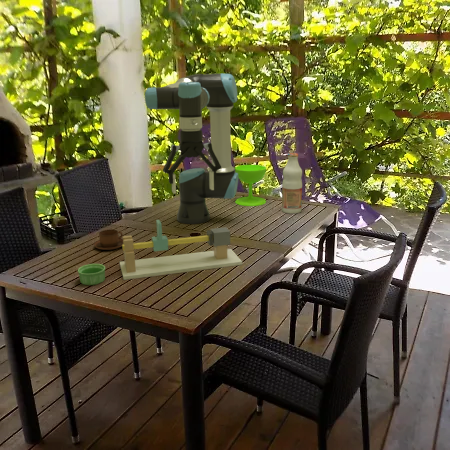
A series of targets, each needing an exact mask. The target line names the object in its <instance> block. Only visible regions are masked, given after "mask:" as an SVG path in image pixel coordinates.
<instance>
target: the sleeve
mask: <svg viewBox="0 0 450 450" xmlns="http://www.w3.org/2000/svg"><path fill="white" fill-rule="evenodd" d="M155 221H156V236H151V241H153V245H154V247H151V248H152V249H153V252H160V251H169V245H168V240H169V239H168V237H167V235H163V229H162V228H163V227H162V221H161V220H160V219H155Z"/></svg>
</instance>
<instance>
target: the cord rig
mask: <svg viewBox="0 0 450 450" xmlns="http://www.w3.org/2000/svg"><path fill="white" fill-rule="evenodd" d="M122 239H123V245H122V246H121V247H122V251H123V259H124V260H123V261H122V260H121V261H119V267H120V271H121V274H122V279H123V281H125V280H132V279H133V280H134V279H142V278H149V277H156V276H157V277H158V276H163V275H170V274H171V275H172V274H178V273H179V274H180V273H187V272H196V271H204V270H209V269H210V270H211V269H218V268H219V269H220V268H228V267H236V266H243V260H242V259H240V257H239V256H238V255H237V254H236V253H235V252H234V251H233V250H232V248H228V246H230V245H231V231H230V229H228V227H226V226H225V227H217V228H210V230H209V229H208V230H206V235H198V236H192V237H189V236H188V237H180V238H178V237H177V238H172V239H171V238H170V239H168V246H176V245H183V244H184V245H185V244H193V243H201V242H206V243H207V244H208V245H209V246H210V247H211V246H213V250H209V251H200V252H192V253H182V254H174V255H165V256H157V257H148V258H140V259H136V256H135V250H141V249H148V248H152V247H154V245H153V241H152V240H151V241H144V242H143V241H142V242H134V239H133V236H132V235H124V236H123V235H122Z"/></svg>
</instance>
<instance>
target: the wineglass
mask: <svg viewBox="0 0 450 450" xmlns="http://www.w3.org/2000/svg"><path fill="white" fill-rule="evenodd" d="M234 169H235V173H238V180H240V181H241V182H243V183H245V184H248V194H247V195H248V196H241V197H239V198H237V199H236V200H235V201H234V202H235V204H236V205H239V206H242V207H258V206H263V205H265V204H266V203H267V201H266V199H265V198H264V197H263V198H262V197H261V196H260V197H259V196H254V195H253V184H257V183H258V182H260V181H261V180H262V179H263V178H264V177H265V175H266V172H267V167H266V165H260V164H243V165H236V166H234Z"/></svg>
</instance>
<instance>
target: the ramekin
mask: <svg viewBox="0 0 450 450" xmlns="http://www.w3.org/2000/svg"><path fill="white" fill-rule="evenodd" d="M77 273H78V276H79V281H80V283H81V284H82V285H85V286H95V285H99V284H101V283H103V282H104V281H105V280H106V266H105V264H102V263H101V264H100V263H90V264H84V265H81V266H80V267H78V269H77Z"/></svg>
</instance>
